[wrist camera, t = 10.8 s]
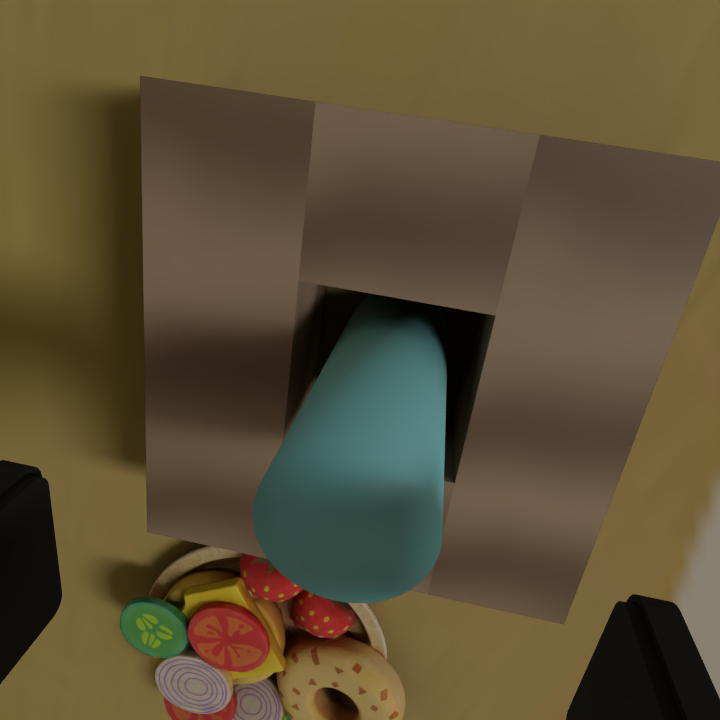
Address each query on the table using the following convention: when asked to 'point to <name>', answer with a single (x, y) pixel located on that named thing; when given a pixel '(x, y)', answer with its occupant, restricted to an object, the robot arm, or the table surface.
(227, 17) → the table surface
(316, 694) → the toy food set
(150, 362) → the socket block
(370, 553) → the peg
